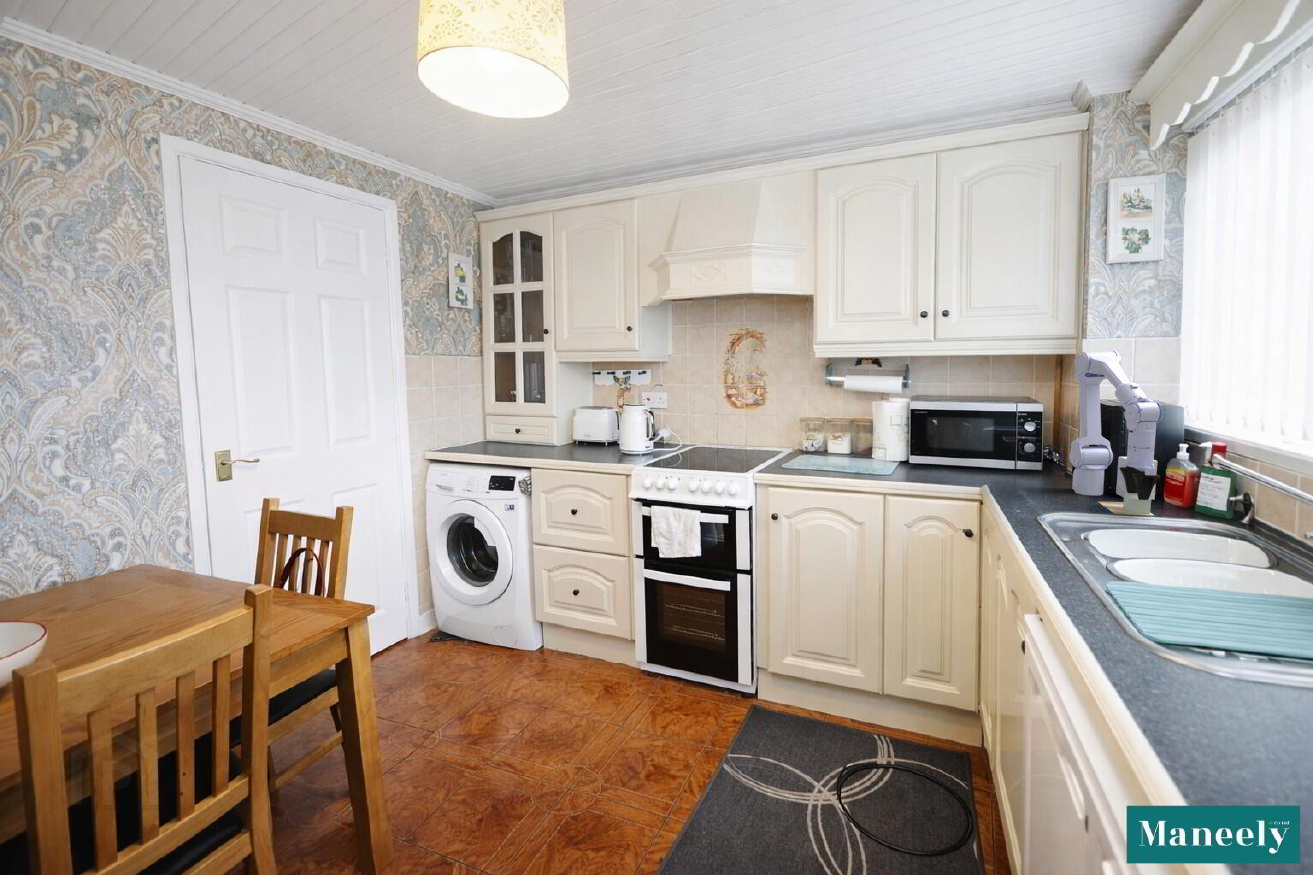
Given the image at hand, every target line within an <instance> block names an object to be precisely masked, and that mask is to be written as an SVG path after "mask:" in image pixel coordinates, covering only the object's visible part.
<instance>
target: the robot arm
mask: <svg viewBox="0 0 1313 875" xmlns="http://www.w3.org/2000/svg"><path fill="white" fill-rule="evenodd" d="M1074 366H1075V367H1074V372H1075V373H1074V374H1075V380H1077V381H1078V382H1079V383H1078V386H1079V390H1078V392H1079V414H1080V416H1079V419H1080V435H1079V436H1078V437H1077V438H1076V439H1074V440H1073V441H1072V442H1070V452H1069V455H1068V456H1069V461H1070V464H1072V466H1073V467H1074V468H1075V469H1074V470H1073V472H1072V486H1071V487H1072V490H1074V493H1075V494H1078V495H1083V496H1102V495H1103V494H1104V481H1105V470H1106V469H1108V466H1110V465H1111V464H1112V461H1113V458H1114V454H1113V451H1112V448H1111V442H1110V440H1108V439H1107V438H1105V437H1104V436H1102V422H1101V421H1102V418H1101V417H1102V415H1101V387H1100V386H1101V385H1100V384H1101V383H1102V382H1103V381H1104V380H1105V381H1106V380H1108V382H1109V383H1110V384H1111V385H1112V386H1113V387H1114V388H1115V391H1114V395H1115V397H1116V399H1117V400H1118V402H1119V403H1120V404H1121V406H1122V407H1123V409H1124V410H1125V411H1124V413H1123V414H1124V415H1123V416H1124V419H1125V422H1126V429H1127V430H1128V435H1127V436H1128V437H1127V450H1126V452H1127V453H1126V457H1127V458H1125V462H1121V465H1123V466H1126V467H1120V470H1121V472H1122V474H1123V477H1124V480H1125V485H1126V490H1127V493H1133V494H1137V496H1138V499H1139V500H1149V497H1150V495H1151V492H1152V489H1153V487H1154V485H1155V484H1157V482H1158V481H1159V480H1160V478H1161V475H1159V474H1156V475H1155V470H1156V468H1154V463H1153V461H1154V460H1155V447H1156V446H1155V445H1156V431H1157V430H1156V429H1157V424H1158V423H1159V422H1160V421H1161V420H1162V418H1163V415H1164V414H1163V412H1164V411H1163V407H1162V405H1161V404H1160V402H1159V401H1156V400H1153V399H1149V398H1148V396H1147V395H1146V393H1144V391H1143V389H1141V387H1140V386H1139V385H1138V383H1135V382H1130V380H1129V378H1128V377H1127V374H1126V373H1125V372H1124V369H1123V368H1122V357H1121V356H1120V353H1119V352H1118V351H1117V350H1110V351H1091V352H1090V351H1087V352H1086V351H1082V352H1080V353H1079V354H1078V356H1077V357H1076V359H1075V360H1074ZM1092 445H1093V446H1092ZM1155 486H1156V485H1155Z"/></svg>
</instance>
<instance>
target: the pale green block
mask: <svg viewBox="0 0 1313 875" xmlns="http://www.w3.org/2000/svg"><path fill="white" fill-rule="evenodd" d="M1123 502H1124V506H1123V509H1124V510H1125V511H1127V512H1128V513H1132V514H1150V513H1151V508H1152V507H1151V506H1152V504H1151V503H1152V499H1149V500H1139V499H1138V496H1137V495H1124V498H1123Z"/></svg>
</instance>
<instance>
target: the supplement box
mask: <svg viewBox="0 0 1313 875" xmlns="http://www.w3.org/2000/svg"><path fill="white" fill-rule="evenodd" d="M1125 458H1127V456H1118V461H1117V462H1118V463H1117V479H1116V488H1115V489H1116V491H1115V493H1116V495H1119V496H1120V497H1122V498H1123V499H1124V495H1137V494H1133V493H1127V490H1126V485H1125V480H1124V477H1123V474H1122V472H1121V470H1120V467H1126V466H1123V465H1121V462H1125ZM1153 463H1154V468H1156V470H1155V475H1157V473H1158V472H1157V470H1158V460H1156V459H1154V461H1153ZM1156 484H1157V483H1156ZM1156 484H1155V485H1154V487H1153V489H1152V492H1151V495H1150V497H1149V499H1151V500H1155V496H1156Z"/></svg>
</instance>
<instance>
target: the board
mask: <svg viewBox="0 0 1313 875" xmlns="http://www.w3.org/2000/svg"><path fill="white" fill-rule="evenodd" d="M1097 502H1098V504H1100V505H1102V506H1103V507H1104V508H1106V509H1107V510H1109V511H1110V512H1111V513H1113V515H1114V514H1115V515H1127V516H1128V515H1129V516H1152V517H1153V516H1154V517H1155V516H1156V515H1154V514H1153V513H1152V512H1150V514H1132V513H1128V512H1127V511H1125V510H1124V509H1123V506H1124V501H1122V502H1121V501H1097Z"/></svg>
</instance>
